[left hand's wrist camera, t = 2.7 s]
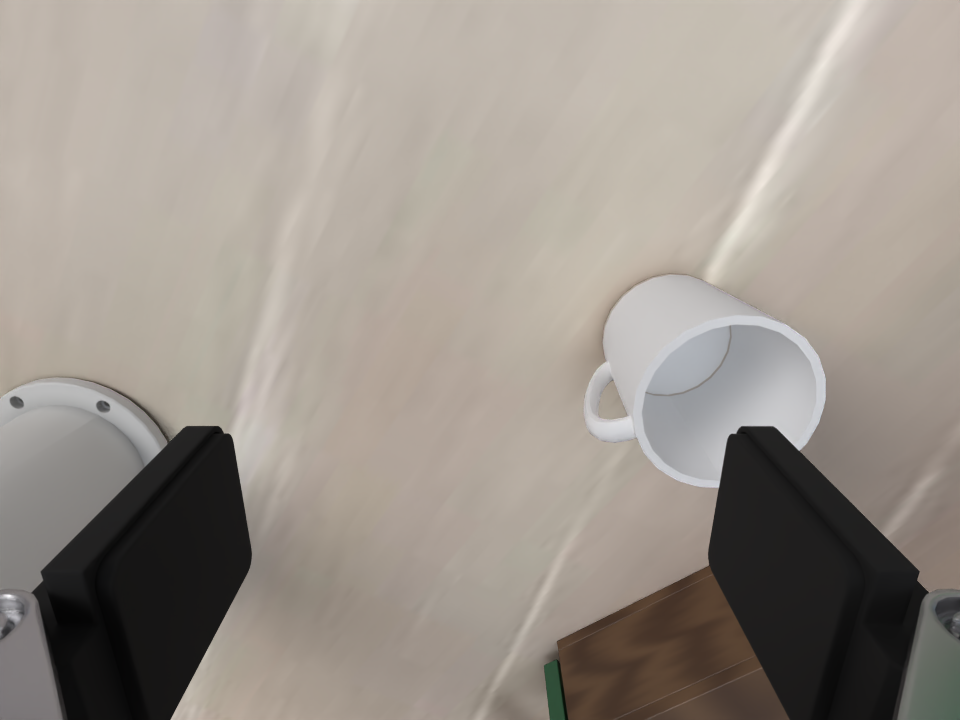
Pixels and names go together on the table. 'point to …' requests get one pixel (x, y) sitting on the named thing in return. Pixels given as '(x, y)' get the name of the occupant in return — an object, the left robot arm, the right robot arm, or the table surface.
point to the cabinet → (667, 661)
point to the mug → (701, 376)
